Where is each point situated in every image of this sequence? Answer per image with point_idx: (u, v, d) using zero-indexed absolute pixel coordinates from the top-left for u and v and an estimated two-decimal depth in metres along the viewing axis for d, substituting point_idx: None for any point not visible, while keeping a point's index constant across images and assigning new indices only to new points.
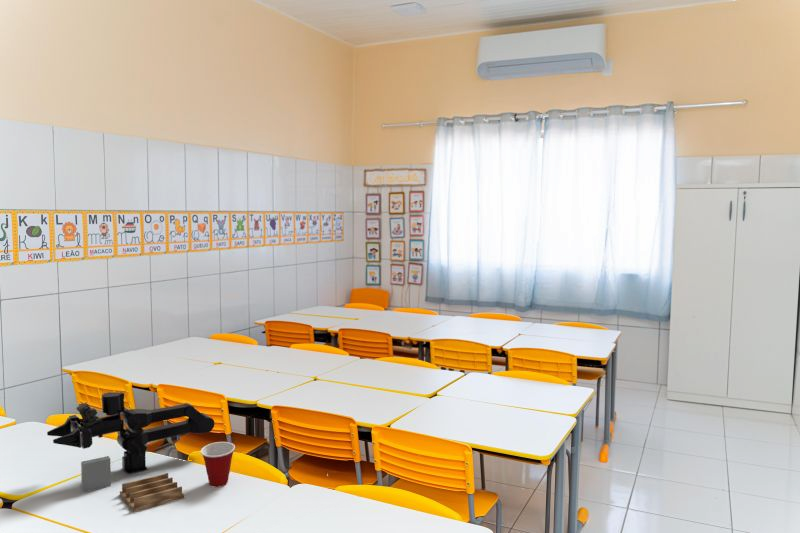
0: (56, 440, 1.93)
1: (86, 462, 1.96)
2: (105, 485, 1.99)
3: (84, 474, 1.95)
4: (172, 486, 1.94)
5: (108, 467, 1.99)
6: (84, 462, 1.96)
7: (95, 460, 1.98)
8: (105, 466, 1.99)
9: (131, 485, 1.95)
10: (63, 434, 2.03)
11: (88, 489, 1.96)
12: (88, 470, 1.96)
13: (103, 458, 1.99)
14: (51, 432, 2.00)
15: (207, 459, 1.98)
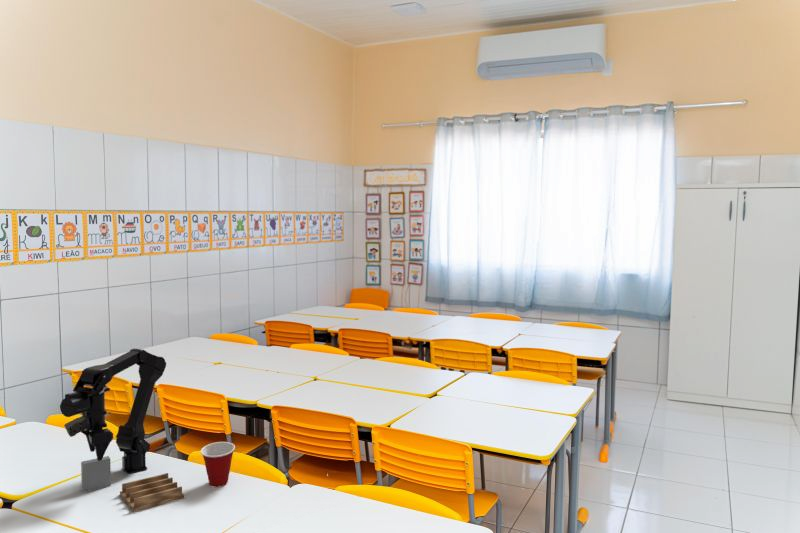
0: (99, 458, 1.94)
1: (86, 462, 1.96)
2: (105, 485, 1.99)
3: (84, 474, 1.95)
4: (172, 486, 1.94)
5: (108, 467, 1.99)
6: (84, 462, 1.96)
7: (95, 460, 1.98)
8: (105, 466, 1.99)
9: (131, 485, 1.95)
10: None
11: (88, 489, 1.96)
12: (88, 470, 1.96)
13: (103, 458, 1.99)
14: (91, 448, 2.01)
15: (207, 459, 1.98)
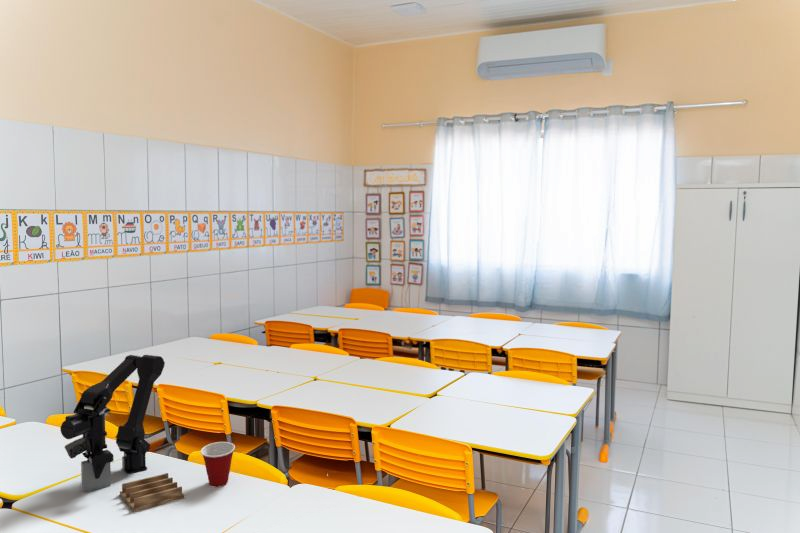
0: (96, 476, 1.97)
1: (86, 462, 1.96)
2: (105, 485, 1.99)
3: (84, 474, 1.95)
4: (172, 486, 1.94)
5: (108, 467, 1.99)
6: (84, 462, 1.96)
7: None
8: (105, 466, 1.99)
9: (131, 485, 1.95)
10: None
11: (88, 489, 1.96)
12: (88, 470, 1.96)
13: None
14: None
15: (207, 459, 1.98)
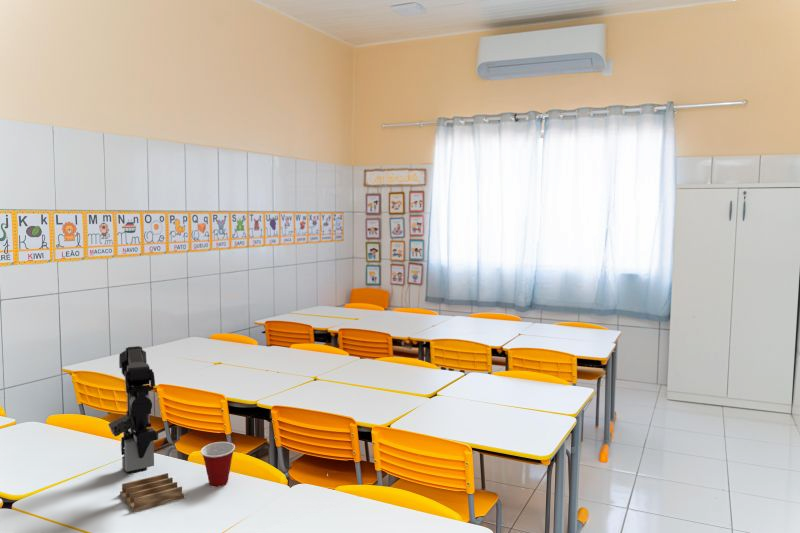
0: (140, 455, 1.91)
1: (129, 441, 1.90)
2: (148, 465, 1.93)
3: (127, 453, 1.89)
4: (172, 486, 1.94)
5: (151, 446, 1.94)
6: (127, 441, 1.90)
7: None
8: None
9: (131, 485, 1.95)
10: None
11: (131, 469, 1.90)
12: (131, 449, 1.90)
13: None
14: None
15: (207, 459, 1.98)
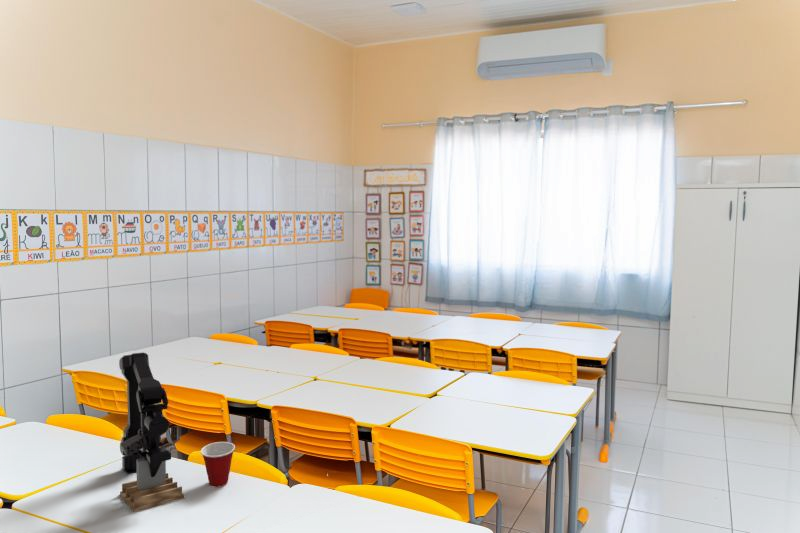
0: (152, 474, 1.91)
1: (142, 460, 1.90)
2: (160, 483, 1.93)
3: (140, 472, 1.89)
4: (172, 486, 1.94)
5: (163, 465, 1.93)
6: (140, 460, 1.90)
7: None
8: None
9: (131, 485, 1.95)
10: None
11: (144, 488, 1.90)
12: (143, 468, 1.90)
13: None
14: None
15: (207, 459, 1.98)
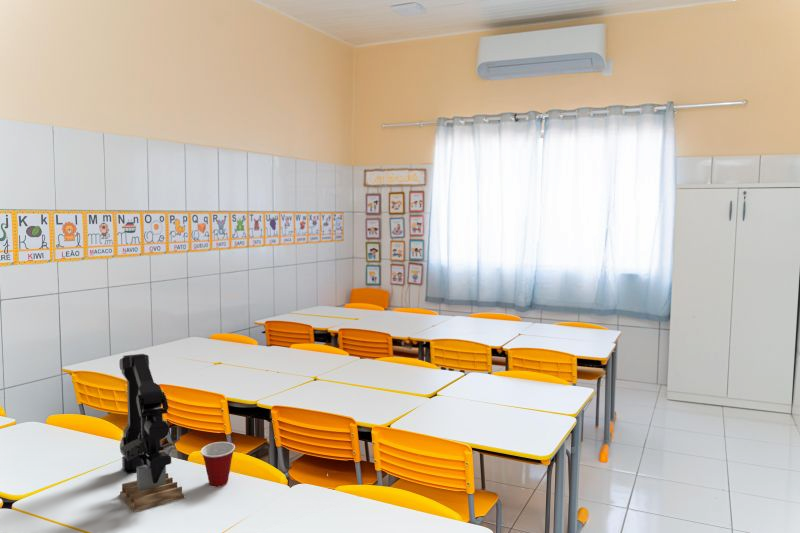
0: (154, 480, 1.90)
1: (142, 467, 1.90)
2: None
3: (140, 479, 1.89)
4: (172, 486, 1.94)
5: (163, 472, 1.94)
6: (140, 467, 1.90)
7: None
8: None
9: (131, 485, 1.95)
10: None
11: None
12: (143, 476, 1.90)
13: None
14: None
15: (207, 459, 1.98)
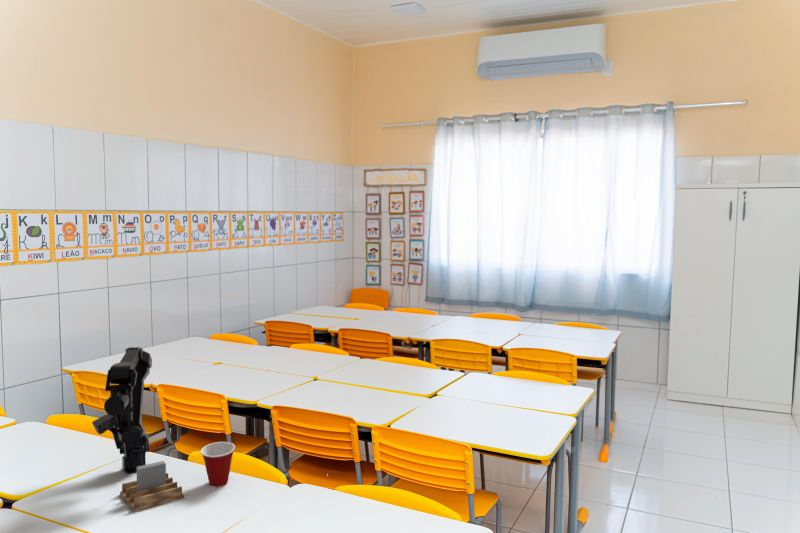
0: (128, 455, 1.93)
1: (142, 467, 1.90)
2: None
3: (140, 479, 1.89)
4: (172, 486, 1.94)
5: (163, 472, 1.94)
6: (140, 467, 1.90)
7: (151, 465, 1.92)
8: (160, 471, 1.93)
9: (131, 485, 1.95)
10: None
11: None
12: (143, 476, 1.90)
13: (158, 463, 1.94)
14: (118, 445, 2.00)
15: (207, 459, 1.98)
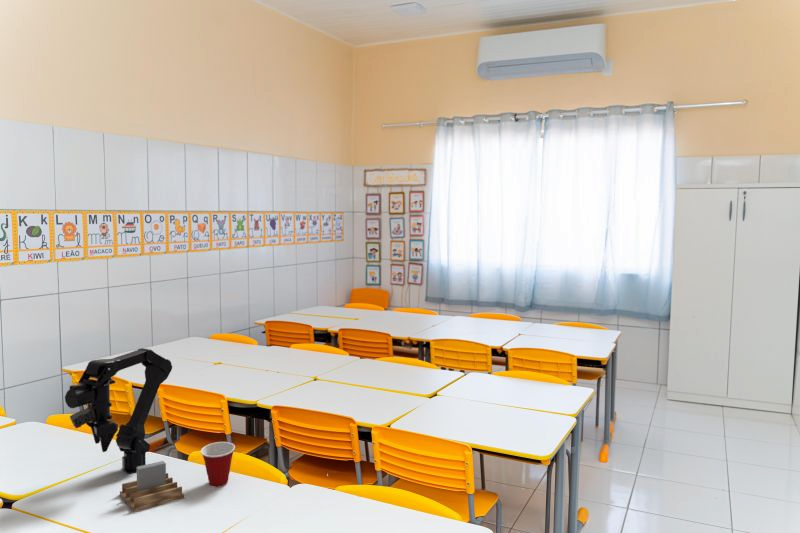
0: (104, 449, 1.96)
1: (142, 467, 1.90)
2: None
3: (140, 479, 1.89)
4: (172, 486, 1.94)
5: (163, 472, 1.94)
6: (140, 467, 1.90)
7: (151, 465, 1.92)
8: (160, 471, 1.93)
9: (131, 485, 1.95)
10: None
11: None
12: (143, 476, 1.90)
13: (158, 463, 1.94)
14: (96, 440, 2.04)
15: (207, 459, 1.98)
